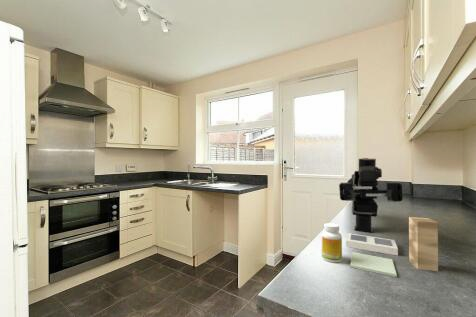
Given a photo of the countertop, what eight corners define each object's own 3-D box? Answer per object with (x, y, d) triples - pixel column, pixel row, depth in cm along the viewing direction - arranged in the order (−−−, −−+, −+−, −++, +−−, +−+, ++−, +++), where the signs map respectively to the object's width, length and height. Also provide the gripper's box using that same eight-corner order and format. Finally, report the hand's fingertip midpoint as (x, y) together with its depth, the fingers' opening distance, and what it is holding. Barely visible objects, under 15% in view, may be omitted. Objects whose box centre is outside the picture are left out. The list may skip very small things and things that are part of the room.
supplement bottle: (344, 264, 61) (344, 228, 61) (323, 262, 62) (323, 226, 62) (339, 256, 66) (339, 223, 66) (320, 254, 67) (320, 221, 67)
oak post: (409, 261, 63) (408, 217, 63) (428, 263, 62) (427, 218, 62) (417, 268, 59) (417, 220, 59) (438, 271, 57) (437, 222, 58)
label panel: (347, 238, 82) (347, 232, 82) (394, 246, 75) (394, 239, 75) (346, 246, 74) (346, 239, 74) (397, 255, 67) (397, 248, 67)
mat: (352, 254, 68) (352, 252, 68) (392, 261, 63) (392, 259, 63) (350, 267, 59) (350, 264, 59) (396, 277, 54) (396, 274, 54)
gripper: (338, 166, 88) (337, 174, 74) (395, 164, 80) (406, 172, 66) (340, 194, 89) (339, 206, 75) (397, 194, 81) (408, 208, 67)
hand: (371, 198), depth 70 cm, fingers open, 9 cm apart
